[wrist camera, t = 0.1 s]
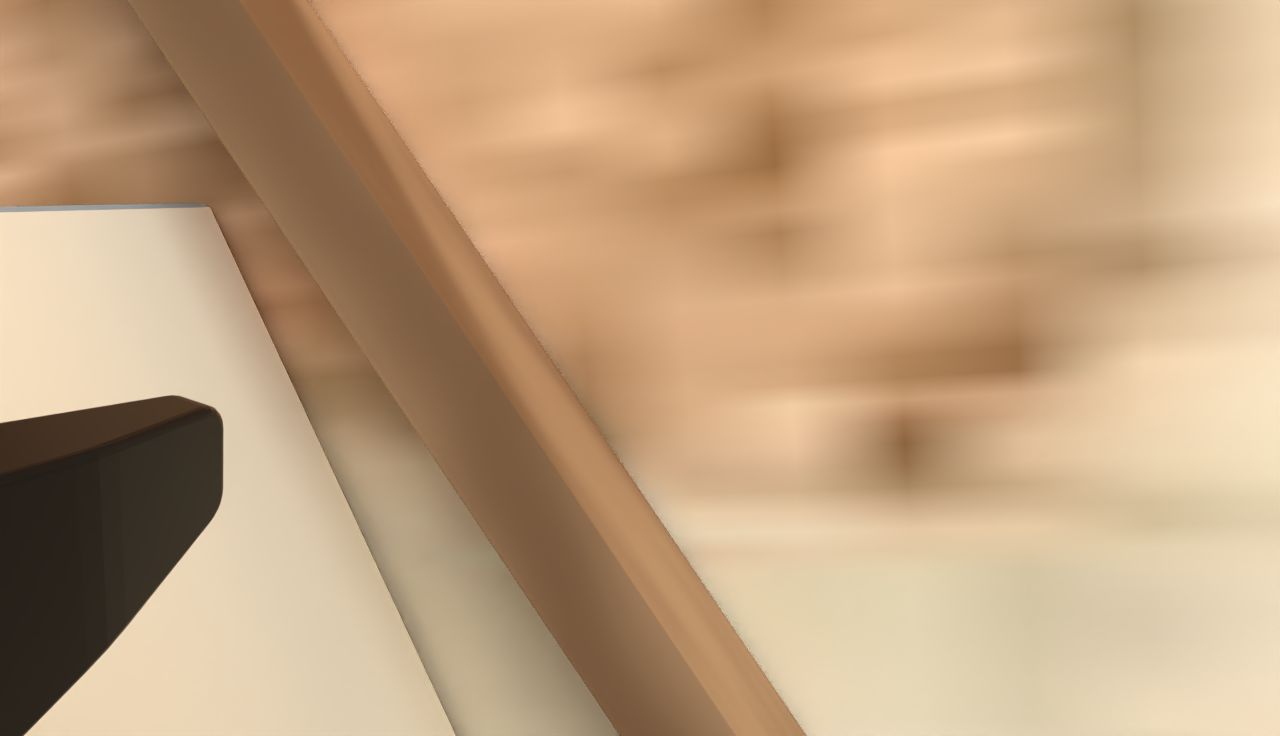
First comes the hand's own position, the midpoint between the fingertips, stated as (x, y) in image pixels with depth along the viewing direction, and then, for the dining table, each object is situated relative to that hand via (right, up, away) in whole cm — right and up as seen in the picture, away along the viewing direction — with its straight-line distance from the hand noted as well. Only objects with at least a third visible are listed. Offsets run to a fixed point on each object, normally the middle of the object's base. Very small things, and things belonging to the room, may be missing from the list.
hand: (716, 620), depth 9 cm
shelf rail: (-6, +6, +17) cm, 19 cm away
